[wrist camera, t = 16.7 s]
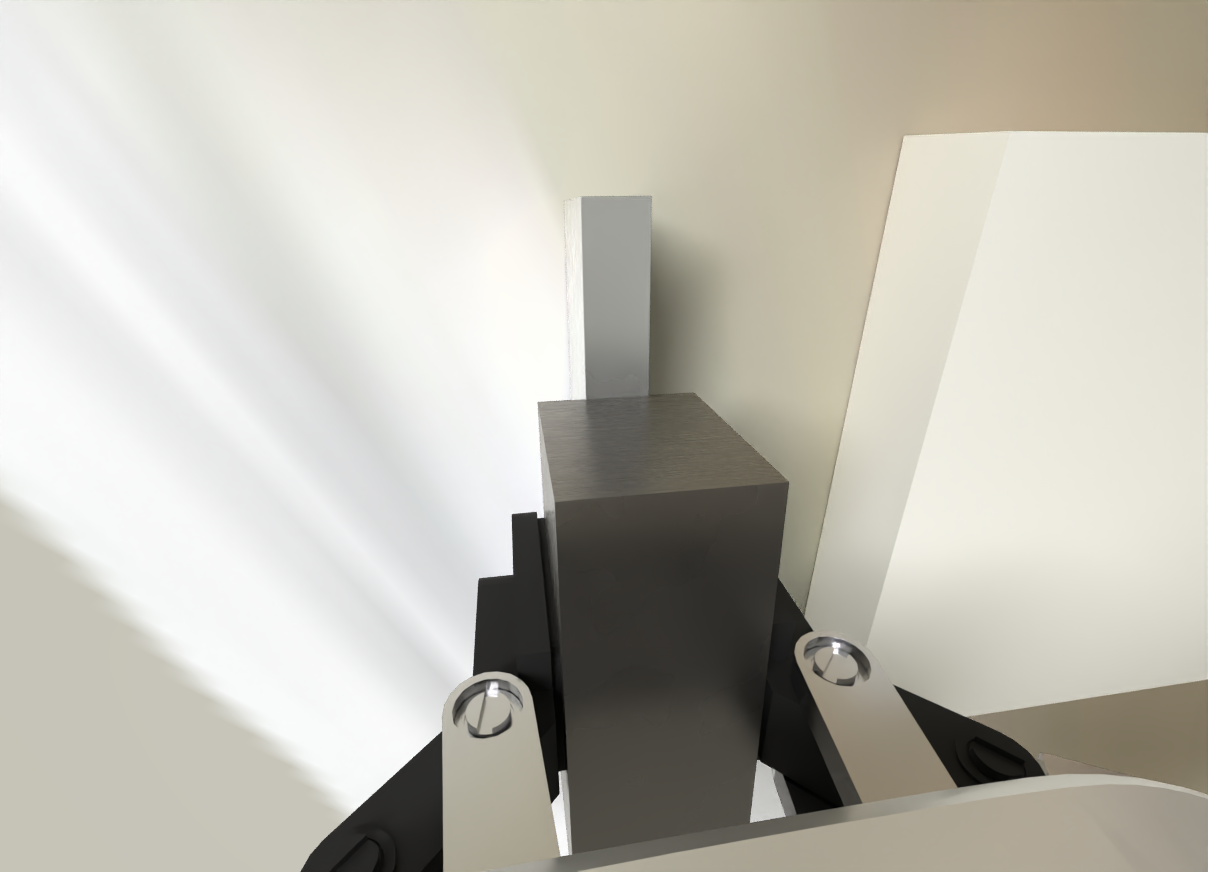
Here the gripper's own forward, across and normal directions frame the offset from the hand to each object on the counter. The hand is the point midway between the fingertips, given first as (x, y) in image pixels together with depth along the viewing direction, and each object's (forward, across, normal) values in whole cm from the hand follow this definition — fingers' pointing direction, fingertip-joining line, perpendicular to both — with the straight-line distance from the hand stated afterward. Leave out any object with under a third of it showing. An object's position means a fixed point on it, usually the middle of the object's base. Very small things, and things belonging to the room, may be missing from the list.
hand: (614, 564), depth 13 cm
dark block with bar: (+3, 0, 0) cm, 3 cm away
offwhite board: (+3, -14, 0) cm, 14 cm away
